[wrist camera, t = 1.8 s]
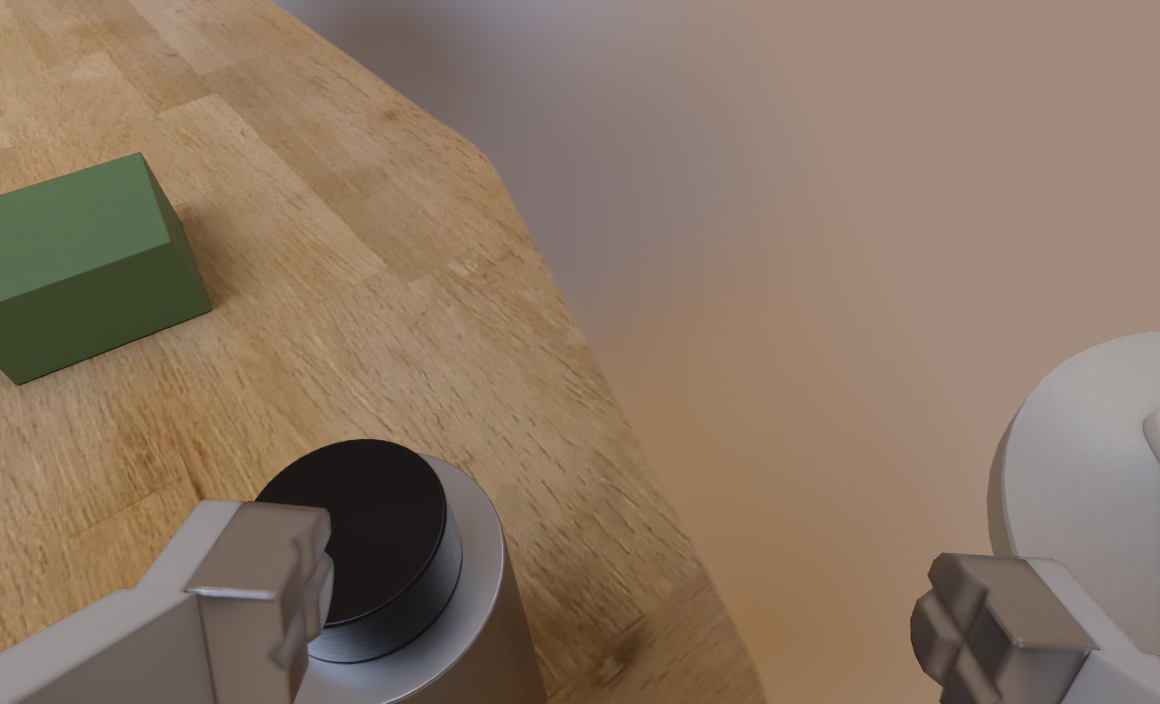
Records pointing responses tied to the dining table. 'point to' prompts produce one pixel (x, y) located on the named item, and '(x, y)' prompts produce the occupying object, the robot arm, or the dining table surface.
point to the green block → (90, 267)
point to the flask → (411, 583)
